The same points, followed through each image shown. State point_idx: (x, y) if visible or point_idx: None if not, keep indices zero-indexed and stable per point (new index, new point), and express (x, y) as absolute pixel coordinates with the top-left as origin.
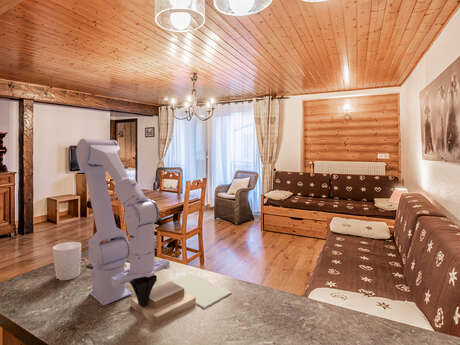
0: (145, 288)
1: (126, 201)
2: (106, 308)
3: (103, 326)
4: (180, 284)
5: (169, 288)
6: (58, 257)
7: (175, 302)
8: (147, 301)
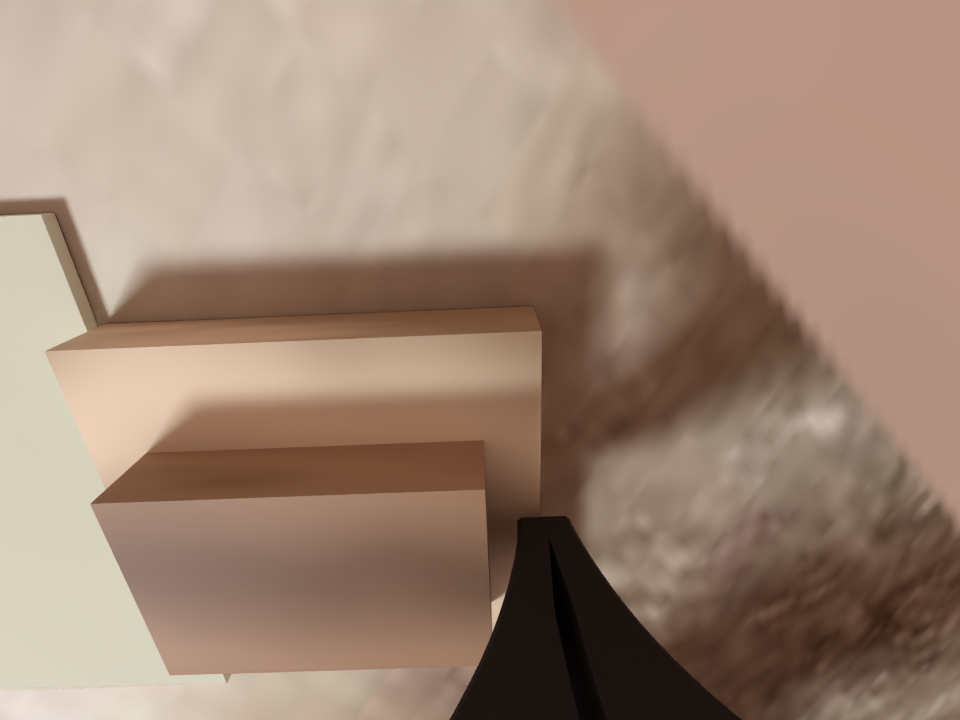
0: (609, 684)
1: None
2: None
3: (776, 537)
4: (108, 621)
5: (238, 589)
6: None
7: (273, 414)
8: (527, 540)
